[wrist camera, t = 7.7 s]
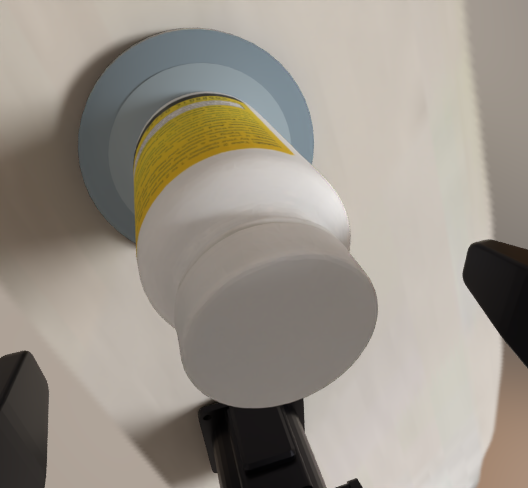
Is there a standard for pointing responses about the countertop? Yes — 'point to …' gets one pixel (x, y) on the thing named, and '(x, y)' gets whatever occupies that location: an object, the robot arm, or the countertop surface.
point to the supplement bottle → (246, 254)
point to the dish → (171, 87)
